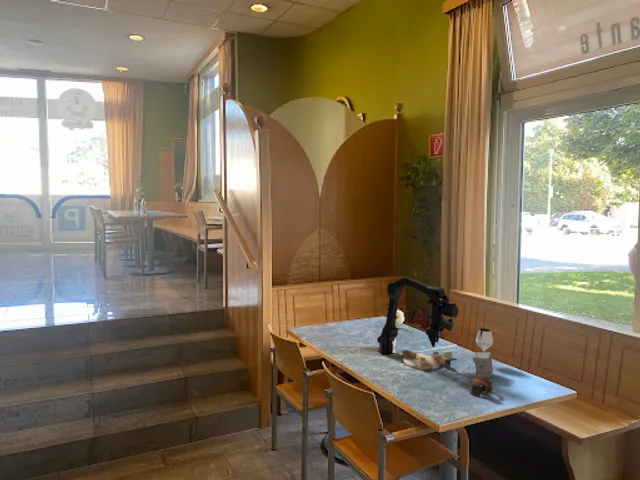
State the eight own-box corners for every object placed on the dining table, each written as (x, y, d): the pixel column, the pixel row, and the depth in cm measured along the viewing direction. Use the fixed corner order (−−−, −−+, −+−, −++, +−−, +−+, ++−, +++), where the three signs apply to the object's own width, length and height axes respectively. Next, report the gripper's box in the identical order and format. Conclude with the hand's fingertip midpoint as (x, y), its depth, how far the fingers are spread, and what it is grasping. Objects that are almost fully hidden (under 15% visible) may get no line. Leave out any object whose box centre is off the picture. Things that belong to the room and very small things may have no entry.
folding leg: (432, 357, 247) (432, 351, 247) (436, 356, 248) (436, 351, 248) (446, 365, 236) (446, 360, 235) (450, 365, 236) (450, 359, 236)
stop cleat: (443, 359, 250) (444, 352, 250) (441, 357, 252) (441, 351, 252) (451, 358, 252) (452, 351, 251) (449, 356, 254) (449, 350, 253)
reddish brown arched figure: (463, 391, 211) (469, 373, 213) (481, 399, 212) (487, 382, 214) (478, 395, 200) (484, 377, 202) (497, 404, 201) (503, 386, 203)
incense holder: (475, 370, 235) (476, 349, 234) (492, 373, 231) (494, 352, 230) (471, 377, 226) (472, 355, 225) (490, 380, 223) (491, 358, 222)
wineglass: (491, 362, 246) (493, 328, 244) (491, 368, 238) (493, 333, 236) (474, 360, 249) (476, 326, 247) (474, 365, 241) (476, 331, 239)
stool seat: (416, 372, 231) (416, 363, 231) (395, 358, 250) (396, 350, 250) (449, 367, 238) (449, 359, 237) (427, 354, 257) (427, 347, 256)
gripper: (449, 320, 222) (448, 352, 224) (456, 311, 239) (455, 341, 240) (425, 317, 227) (424, 349, 228) (434, 308, 244) (432, 338, 245)
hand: (435, 344), depth 235 cm, fingers open, 8 cm apart
